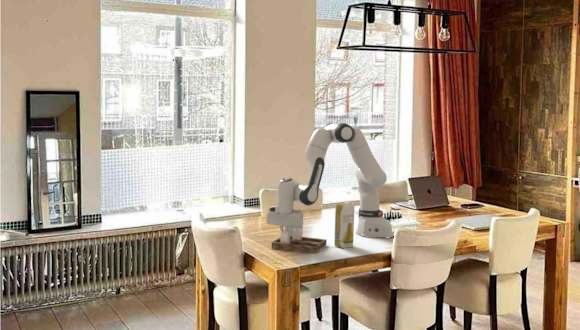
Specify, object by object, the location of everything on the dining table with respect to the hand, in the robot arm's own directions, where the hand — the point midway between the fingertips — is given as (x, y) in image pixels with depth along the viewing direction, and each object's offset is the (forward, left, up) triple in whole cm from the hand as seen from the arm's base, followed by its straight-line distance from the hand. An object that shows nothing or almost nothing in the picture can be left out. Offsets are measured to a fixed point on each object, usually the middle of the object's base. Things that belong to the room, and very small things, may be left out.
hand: (284, 234), depth 344 cm
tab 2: (-7, 0, -3) cm, 8 cm away
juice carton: (-31, -7, -5) cm, 32 cm away
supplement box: (-1, -11, -5) cm, 12 cm away
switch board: (-10, +4, -5) cm, 12 cm away
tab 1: (-4, +9, -3) cm, 10 cm away
